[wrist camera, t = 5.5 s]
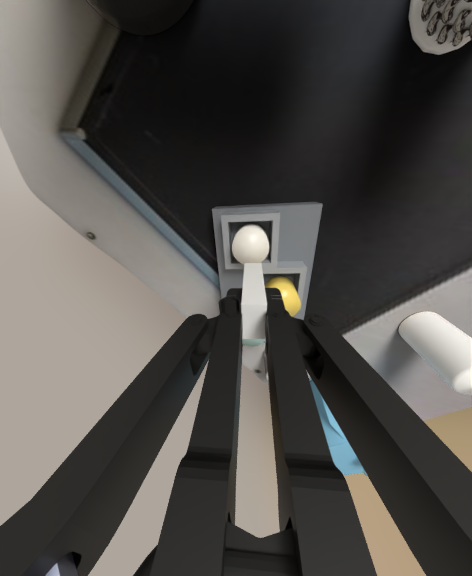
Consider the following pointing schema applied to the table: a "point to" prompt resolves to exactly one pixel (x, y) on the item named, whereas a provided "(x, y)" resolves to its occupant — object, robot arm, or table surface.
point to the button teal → (253, 342)
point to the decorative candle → (440, 24)
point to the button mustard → (286, 293)
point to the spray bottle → (441, 348)
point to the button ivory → (250, 244)
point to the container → (336, 438)
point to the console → (270, 243)
